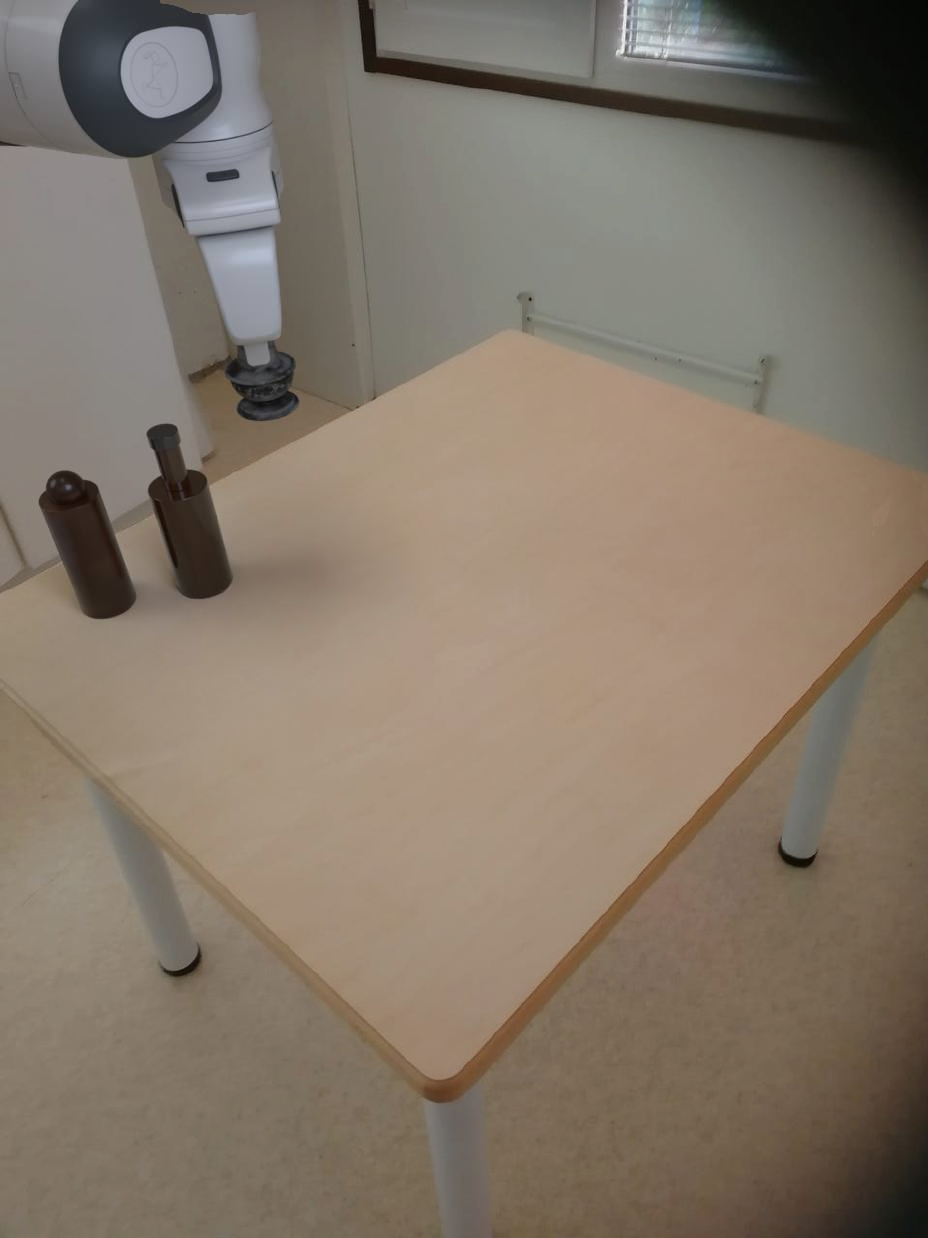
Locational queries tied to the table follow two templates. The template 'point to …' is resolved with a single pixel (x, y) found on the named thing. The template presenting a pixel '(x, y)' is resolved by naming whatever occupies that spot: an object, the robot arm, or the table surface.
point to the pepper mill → (87, 545)
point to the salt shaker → (263, 385)
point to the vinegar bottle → (187, 519)
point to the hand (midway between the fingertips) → (255, 349)
